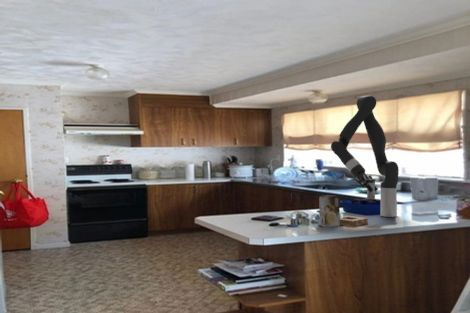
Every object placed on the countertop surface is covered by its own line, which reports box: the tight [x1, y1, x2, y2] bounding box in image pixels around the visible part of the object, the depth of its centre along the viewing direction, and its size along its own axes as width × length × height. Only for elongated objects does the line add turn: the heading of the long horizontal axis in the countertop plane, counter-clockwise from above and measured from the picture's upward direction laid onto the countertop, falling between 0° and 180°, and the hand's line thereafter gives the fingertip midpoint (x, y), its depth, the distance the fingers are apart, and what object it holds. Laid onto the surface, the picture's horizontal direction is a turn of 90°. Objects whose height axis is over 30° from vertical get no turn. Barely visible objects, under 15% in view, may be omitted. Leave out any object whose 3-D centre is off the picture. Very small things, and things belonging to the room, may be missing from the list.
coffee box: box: [318, 194, 341, 228], centre depth 245 cm, size 9×6×16 cm
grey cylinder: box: [366, 178, 377, 200], centre depth 255 cm, size 5×5×11 cm
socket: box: [340, 215, 369, 228], centre depth 251 cm, size 14×14×3 cm
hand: (374, 190), depth 253 cm, fingers closed on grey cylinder, 4 cm apart
